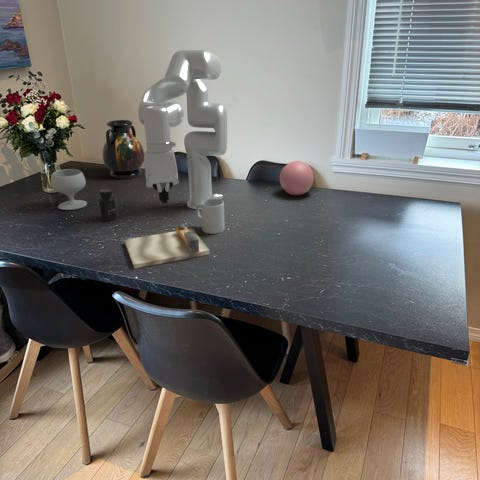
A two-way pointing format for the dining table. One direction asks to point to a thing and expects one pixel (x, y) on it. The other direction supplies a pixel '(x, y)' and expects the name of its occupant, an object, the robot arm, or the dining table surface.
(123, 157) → the amphora vase
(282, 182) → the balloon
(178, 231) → the link
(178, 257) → the pivot board
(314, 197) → the dining table surface
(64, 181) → the chalice
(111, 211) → the supplement bottle
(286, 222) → the dining table surface
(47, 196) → the dining table surface
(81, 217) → the dining table surface
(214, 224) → the mug
